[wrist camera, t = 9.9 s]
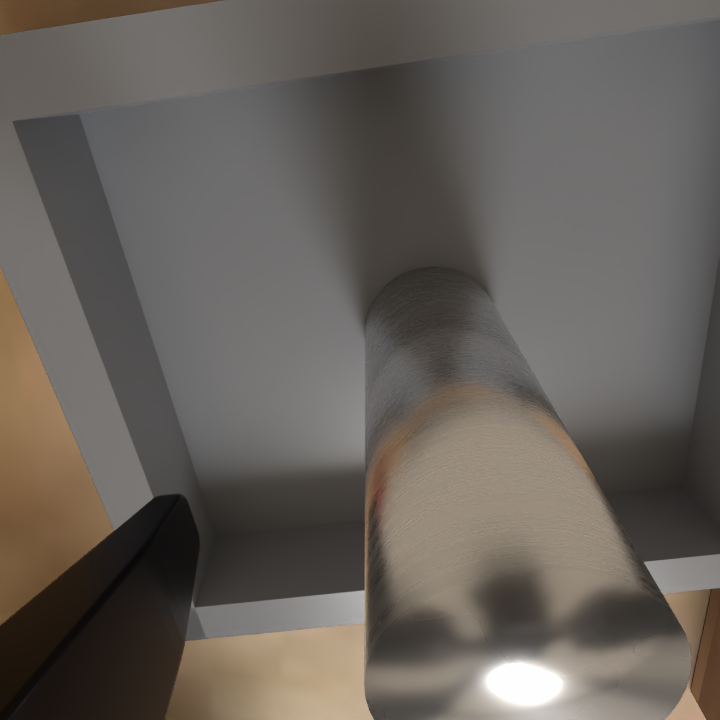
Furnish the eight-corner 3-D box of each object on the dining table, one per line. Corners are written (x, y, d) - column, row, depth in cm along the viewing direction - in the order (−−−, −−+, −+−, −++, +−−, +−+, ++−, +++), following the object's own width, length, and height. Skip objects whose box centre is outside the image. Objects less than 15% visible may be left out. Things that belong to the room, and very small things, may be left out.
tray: (196, 545, 18) (162, 643, 15) (25, 58, 12) (-93, 49, 9) (700, 491, 17) (777, 581, 14) (798, -60, 11) (974, -117, 8)
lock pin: (373, 393, 14) (382, 784, 6) (357, 274, 13) (344, 585, 5) (497, 379, 14) (670, 767, 6) (495, 258, 13) (715, 554, 5)
